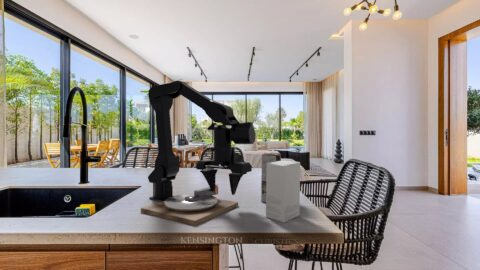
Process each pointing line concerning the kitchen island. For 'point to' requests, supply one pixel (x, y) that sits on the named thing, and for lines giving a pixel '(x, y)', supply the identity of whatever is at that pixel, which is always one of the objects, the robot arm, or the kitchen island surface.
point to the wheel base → (191, 216)
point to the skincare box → (282, 190)
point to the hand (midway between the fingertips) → (223, 193)
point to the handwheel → (193, 200)
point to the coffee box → (265, 159)
